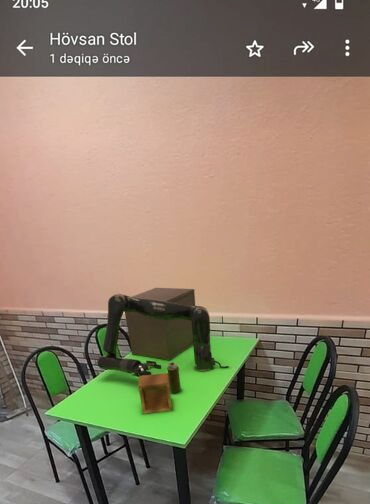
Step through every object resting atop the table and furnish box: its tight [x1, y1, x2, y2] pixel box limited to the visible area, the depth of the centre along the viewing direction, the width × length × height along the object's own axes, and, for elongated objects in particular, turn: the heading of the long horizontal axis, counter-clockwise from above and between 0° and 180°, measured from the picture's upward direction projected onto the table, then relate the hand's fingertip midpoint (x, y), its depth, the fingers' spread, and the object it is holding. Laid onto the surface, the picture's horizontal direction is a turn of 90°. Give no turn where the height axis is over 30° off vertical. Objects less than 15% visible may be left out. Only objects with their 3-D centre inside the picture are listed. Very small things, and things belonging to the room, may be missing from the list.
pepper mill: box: [166, 361, 182, 395], centre depth 161 cm, size 5×5×15 cm
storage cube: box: [124, 287, 196, 361], centre depth 210 cm, size 34×29×34 cm
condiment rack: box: [138, 372, 173, 414], centre depth 150 cm, size 13×10×14 cm
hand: (156, 370), depth 165 cm, fingers open, 8 cm apart
